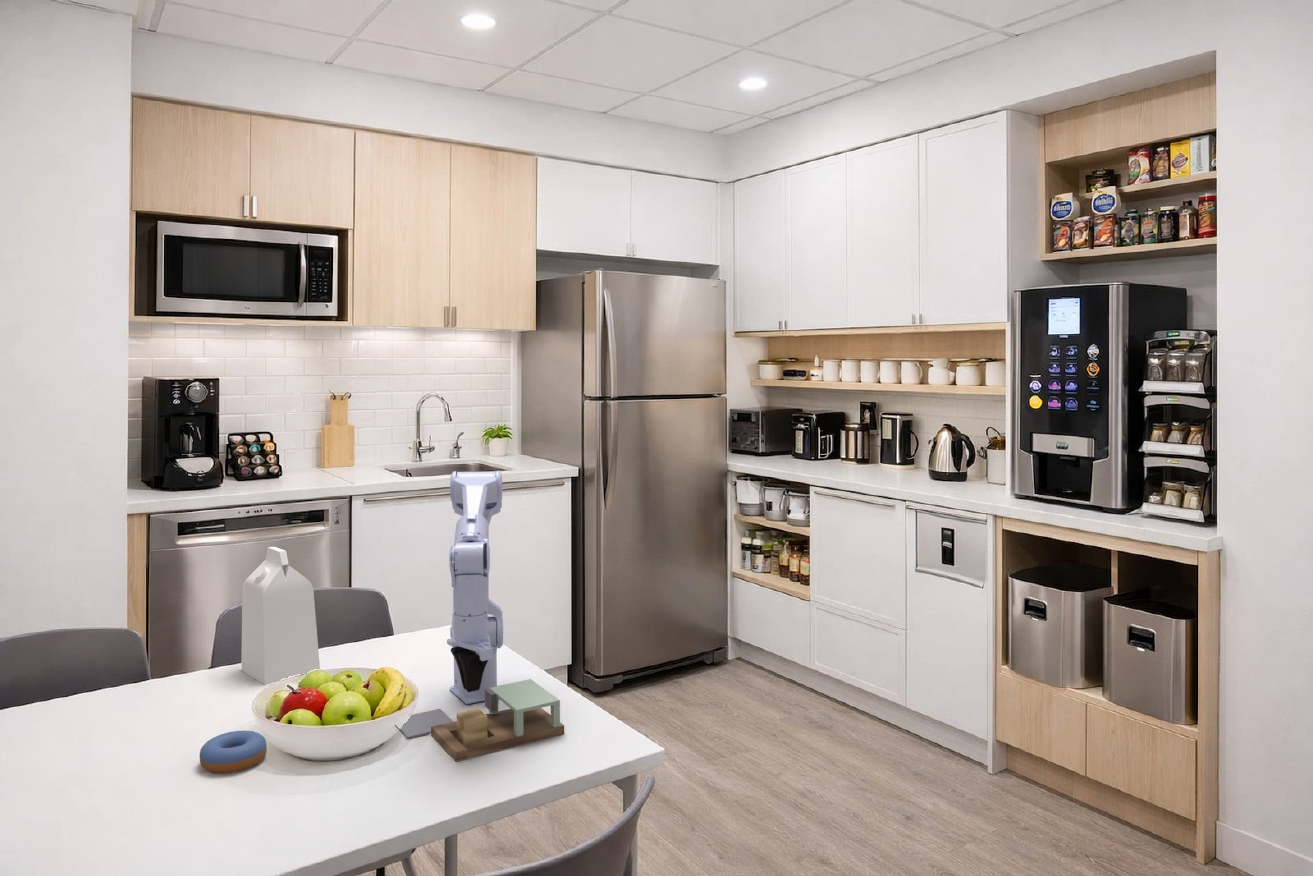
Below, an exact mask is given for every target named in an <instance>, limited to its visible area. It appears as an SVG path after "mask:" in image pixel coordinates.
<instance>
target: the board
mask: <svg viewBox="0 0 1313 876" xmlns="http://www.w3.org/2000/svg"><path fill="white" fill-rule="evenodd" d="M485 714H486V715H487V738H485V739H481V740H477V741H473V742H469V743H465V744H461V743H460V742H459V741H458V740H457V720H454V721H453V722H450V723H445V724H441V725H437V726H432V727H431V734H430V735H431V737H432V738H433V737H434V738H435V739H434V740H435V741H436V742H437V743H438V744H439V745H440V746H441V747H442V748H443V749H444V751H445V752H446V751H447V754H448V755H449V756H450V757H451V758H452V759H453V760H454V761H455V762H459V761H463V760H466V759H471V758H476V757H478V756H483V755H486V754H491V753H493V752H499V751H502V750H506V749H510V748H514V747H517V746H521V745H525V744H526V745H527V744H529V743H534V742H537V741H541V740H545V739H549V738H552V737H556V736H561V735H565V724H563V722H561V721H560V726H558V727H553V726H551V713H549V712H547V711H546V710H545V709H544V708H538V709H534V710H530V711H526V712H523V735H522V736H518V737H517V736H516V735H514V711H513V710H512V709H511V708H507V709H502V710H498V714H494V715H491V714H490V712H489V713H485ZM560 734H561V735H560Z"/></svg>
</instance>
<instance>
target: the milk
mask: <svg viewBox="0 0 1313 876" xmlns="http://www.w3.org/2000/svg"><path fill="white" fill-rule="evenodd" d="M287 554H288V553H287V551H286V550H285V549H282V548H279V547H276V546H269V547H267V550H266V556H265V560H263V562H262V563H260V564H259V565H258V567H256V569H254V570H253V572H252V573H250V575H249V576H248V577H247V578H246V580H245V581H244V582H243V585H242V588H241V589H242V592H241V662H240V663H241V666H240V670H241V671H242V672H244V673H245V674H247V675H248V676H250V677H252V678H254V679H255V680H257V681H259V682H260V683H261V684H263V685H264V686H265V685H269V684H270V685H271V684H273V682H274V683H277V682H281V681H280V680H281V679H283V678H288V677H289V676H293V675H297V674H303V673H307V672H309V671H311V670H314V669H320V670H321V665H320V663H321V662H320V653H319V652H320V651H319V641H318V631H317V630H318V626H317V617H316V616H317V615H316V606H315V605H316V603H315V593H314V592H315V591H314V586H313V584H312V582H311V581H310V580H309V579H307V577H305V576H304V575H303V574H301V573H300V572H299V571H297V570H296V569H295V568H293V566H291V565H290V564H289V559H288V555H287Z"/></svg>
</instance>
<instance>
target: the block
mask: <svg viewBox="0 0 1313 876" xmlns="http://www.w3.org/2000/svg"><path fill="white" fill-rule="evenodd" d="M486 714H487V713H485V712H483V711H482V709H480V708H479V707H477V708H473V709H469V710H464V711H459V712H456V721H457V738H456V739H457V740H458V741H459V742H460V743H461V744H465V743H469V742H473V741H477V740H481V739H485V738H488V737H487V715H486Z"/></svg>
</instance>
